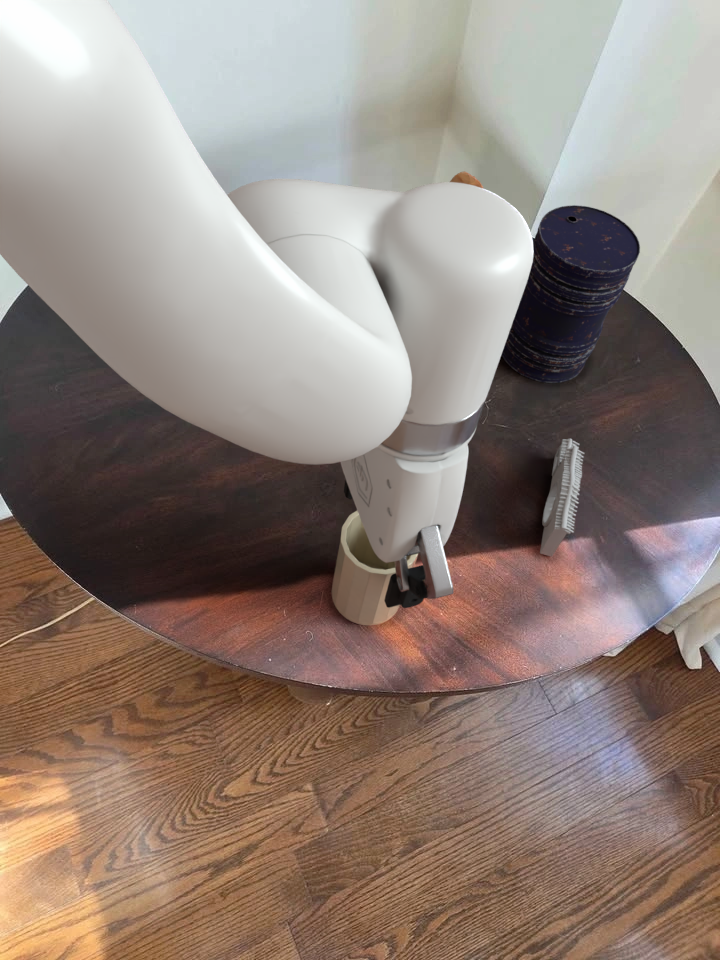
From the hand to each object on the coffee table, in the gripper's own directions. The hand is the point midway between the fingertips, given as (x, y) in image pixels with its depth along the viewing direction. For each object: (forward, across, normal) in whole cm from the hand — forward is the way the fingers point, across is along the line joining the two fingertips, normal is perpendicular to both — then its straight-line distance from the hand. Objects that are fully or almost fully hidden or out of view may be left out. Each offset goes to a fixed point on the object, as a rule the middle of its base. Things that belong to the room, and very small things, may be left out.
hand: (383, 543), depth 59 cm
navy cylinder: (+9, -23, +28) cm, 37 cm away
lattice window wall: (+8, -4, +20) cm, 22 cm away
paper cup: (+8, 0, 0) cm, 8 cm away
